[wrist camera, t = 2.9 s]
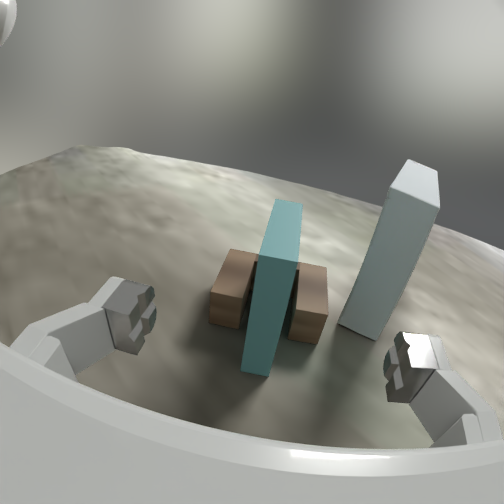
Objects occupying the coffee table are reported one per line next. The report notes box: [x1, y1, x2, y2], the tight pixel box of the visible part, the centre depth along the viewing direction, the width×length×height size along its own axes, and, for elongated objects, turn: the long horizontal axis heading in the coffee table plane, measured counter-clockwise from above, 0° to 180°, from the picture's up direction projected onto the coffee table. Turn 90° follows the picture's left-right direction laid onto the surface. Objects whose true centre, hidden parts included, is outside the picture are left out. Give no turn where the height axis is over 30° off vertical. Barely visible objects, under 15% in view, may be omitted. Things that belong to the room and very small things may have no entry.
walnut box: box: [209, 249, 328, 344], centre depth 33 cm, size 8×11×4 cm
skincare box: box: [338, 159, 440, 340], centre depth 35 cm, size 21×5×16 cm, turn 148°
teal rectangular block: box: [240, 199, 303, 377], centre depth 27 cm, size 10×2×12 cm, turn 170°
